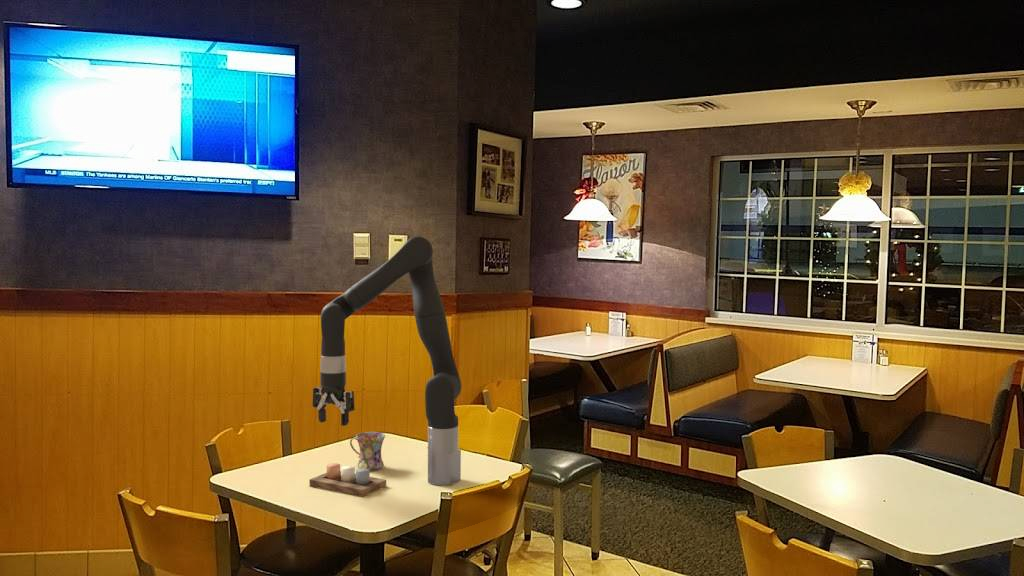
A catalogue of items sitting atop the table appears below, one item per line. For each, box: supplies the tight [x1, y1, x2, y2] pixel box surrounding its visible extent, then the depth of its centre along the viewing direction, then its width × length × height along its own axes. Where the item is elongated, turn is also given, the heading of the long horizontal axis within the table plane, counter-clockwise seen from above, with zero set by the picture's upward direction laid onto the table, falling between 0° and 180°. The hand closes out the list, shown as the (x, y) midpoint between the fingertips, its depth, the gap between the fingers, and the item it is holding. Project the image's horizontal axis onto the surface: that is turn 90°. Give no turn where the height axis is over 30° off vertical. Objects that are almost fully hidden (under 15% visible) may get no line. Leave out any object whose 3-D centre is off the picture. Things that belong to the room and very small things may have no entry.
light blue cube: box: [355, 468, 371, 486], centre depth 234 cm, size 4×4×4 cm
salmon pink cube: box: [326, 462, 341, 480], centre depth 239 cm, size 4×4×4 cm
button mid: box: [340, 465, 356, 483], centre depth 237 cm, size 4×4×4 cm
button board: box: [308, 470, 387, 498], centre depth 237 cm, size 20×11×2 cm, turn 62°
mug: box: [349, 431, 386, 471], centre depth 256 cm, size 12×9×11 cm
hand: (333, 423), depth 239 cm, fingers open, 8 cm apart
